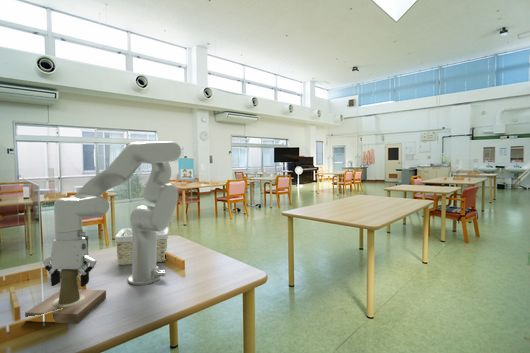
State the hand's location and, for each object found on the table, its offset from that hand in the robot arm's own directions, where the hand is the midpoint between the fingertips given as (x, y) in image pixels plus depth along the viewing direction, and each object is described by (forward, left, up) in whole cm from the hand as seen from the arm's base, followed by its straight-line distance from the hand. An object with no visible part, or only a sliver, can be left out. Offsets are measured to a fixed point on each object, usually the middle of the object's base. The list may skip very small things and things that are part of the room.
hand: (70, 284), depth 95 cm
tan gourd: (0, 0, -5) cm, 5 cm away
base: (0, 0, -8) cm, 8 cm away
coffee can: (+21, -35, -9) cm, 42 cm away
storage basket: (-4, -48, -9) cm, 49 cm away
